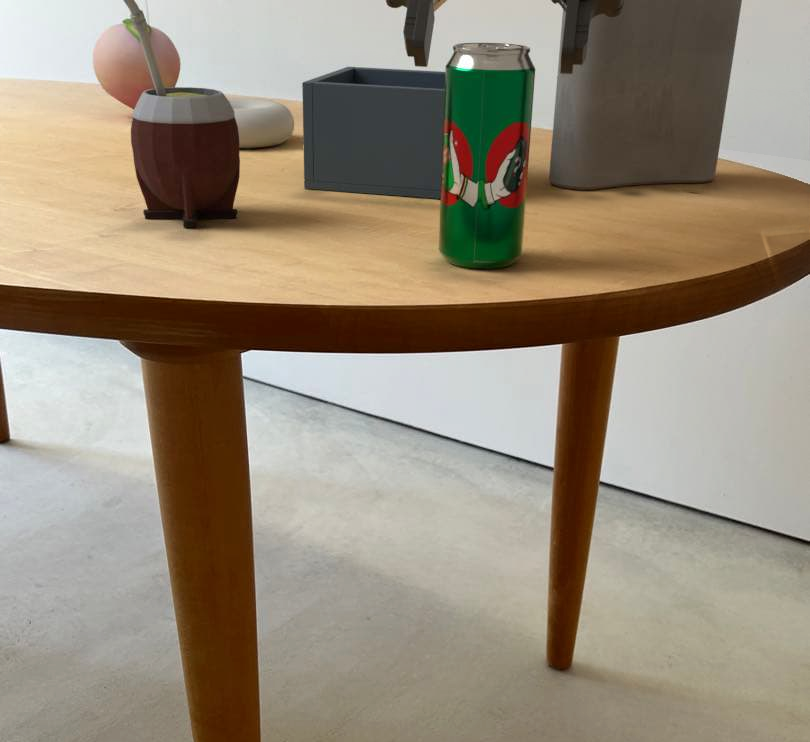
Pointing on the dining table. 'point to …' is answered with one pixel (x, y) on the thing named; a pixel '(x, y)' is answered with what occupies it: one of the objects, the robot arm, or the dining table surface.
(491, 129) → the soda can
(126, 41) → the decorative fruit
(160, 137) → the mate gourd
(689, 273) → the dining table surface
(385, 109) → the bin
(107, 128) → the dining table surface
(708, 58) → the flask
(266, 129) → the donut
